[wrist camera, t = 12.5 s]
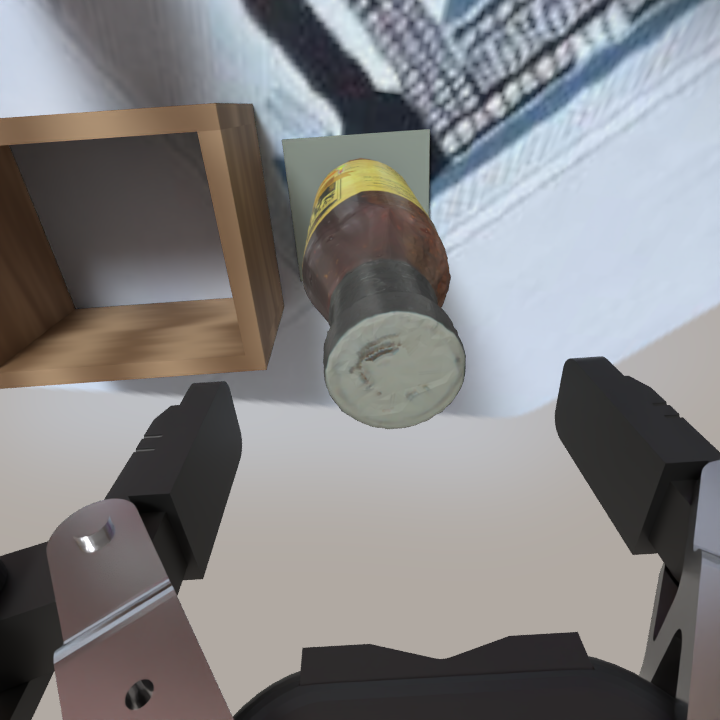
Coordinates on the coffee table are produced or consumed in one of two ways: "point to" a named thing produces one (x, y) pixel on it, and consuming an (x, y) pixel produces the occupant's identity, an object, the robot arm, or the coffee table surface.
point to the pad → (324, 154)
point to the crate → (143, 321)
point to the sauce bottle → (381, 298)
